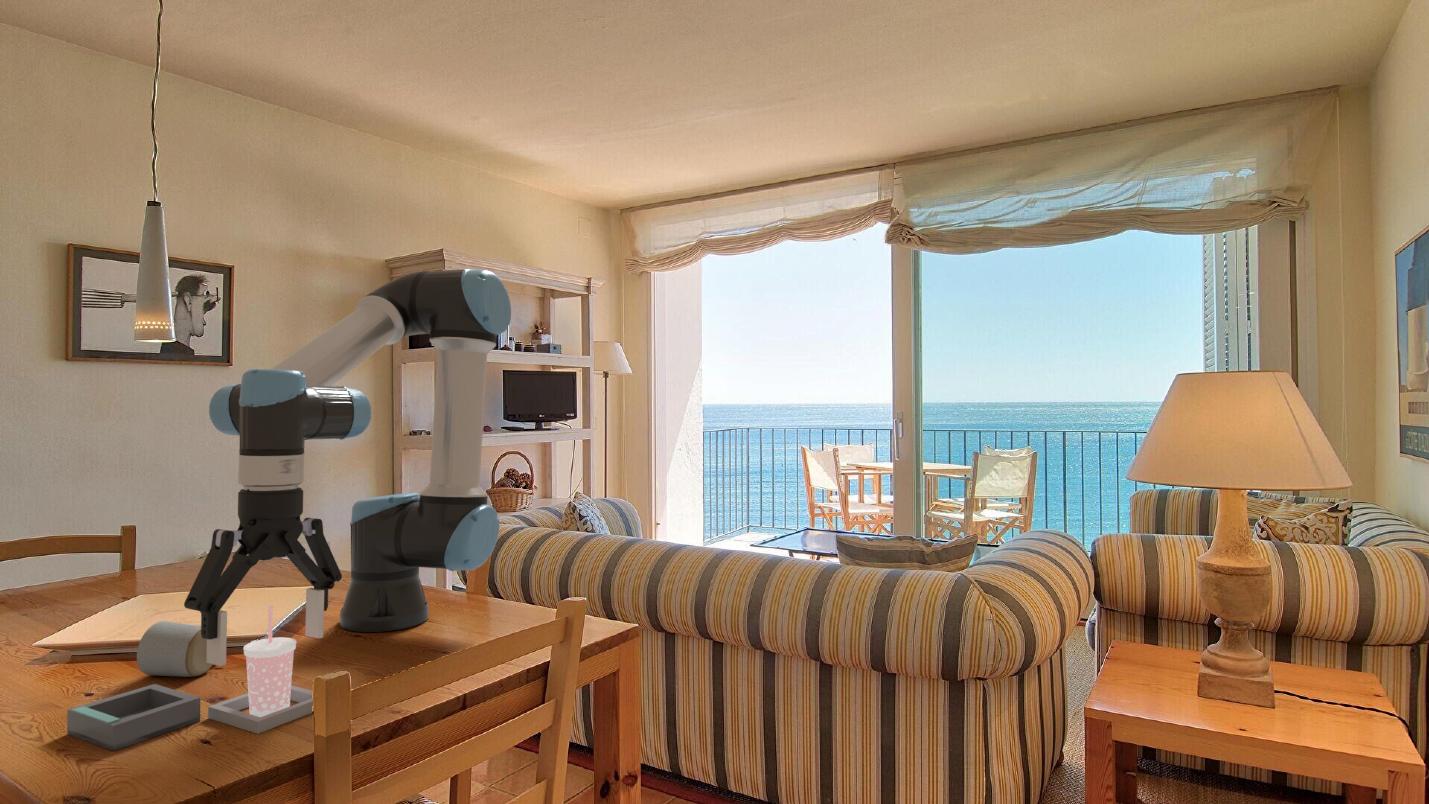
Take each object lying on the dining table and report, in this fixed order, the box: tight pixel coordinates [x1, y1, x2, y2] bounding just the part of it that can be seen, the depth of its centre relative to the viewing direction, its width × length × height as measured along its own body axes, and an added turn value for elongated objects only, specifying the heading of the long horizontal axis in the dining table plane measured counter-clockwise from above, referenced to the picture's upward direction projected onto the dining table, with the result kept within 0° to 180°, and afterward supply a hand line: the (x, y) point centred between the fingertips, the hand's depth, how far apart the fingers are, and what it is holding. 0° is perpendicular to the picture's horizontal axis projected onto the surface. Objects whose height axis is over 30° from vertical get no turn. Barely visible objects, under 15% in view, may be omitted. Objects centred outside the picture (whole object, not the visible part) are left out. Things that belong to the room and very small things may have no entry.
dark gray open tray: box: [66, 683, 201, 752], centre depth 101 cm, size 10×10×3 cm
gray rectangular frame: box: [207, 684, 313, 735], centre depth 107 cm, size 10×10×2 cm
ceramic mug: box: [136, 620, 214, 678], centre depth 122 cm, size 11×8×8 cm
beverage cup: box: [243, 605, 297, 717], centre depth 107 cm, size 6×6×14 cm
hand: (268, 649), depth 106 cm, fingers open, 13 cm apart
